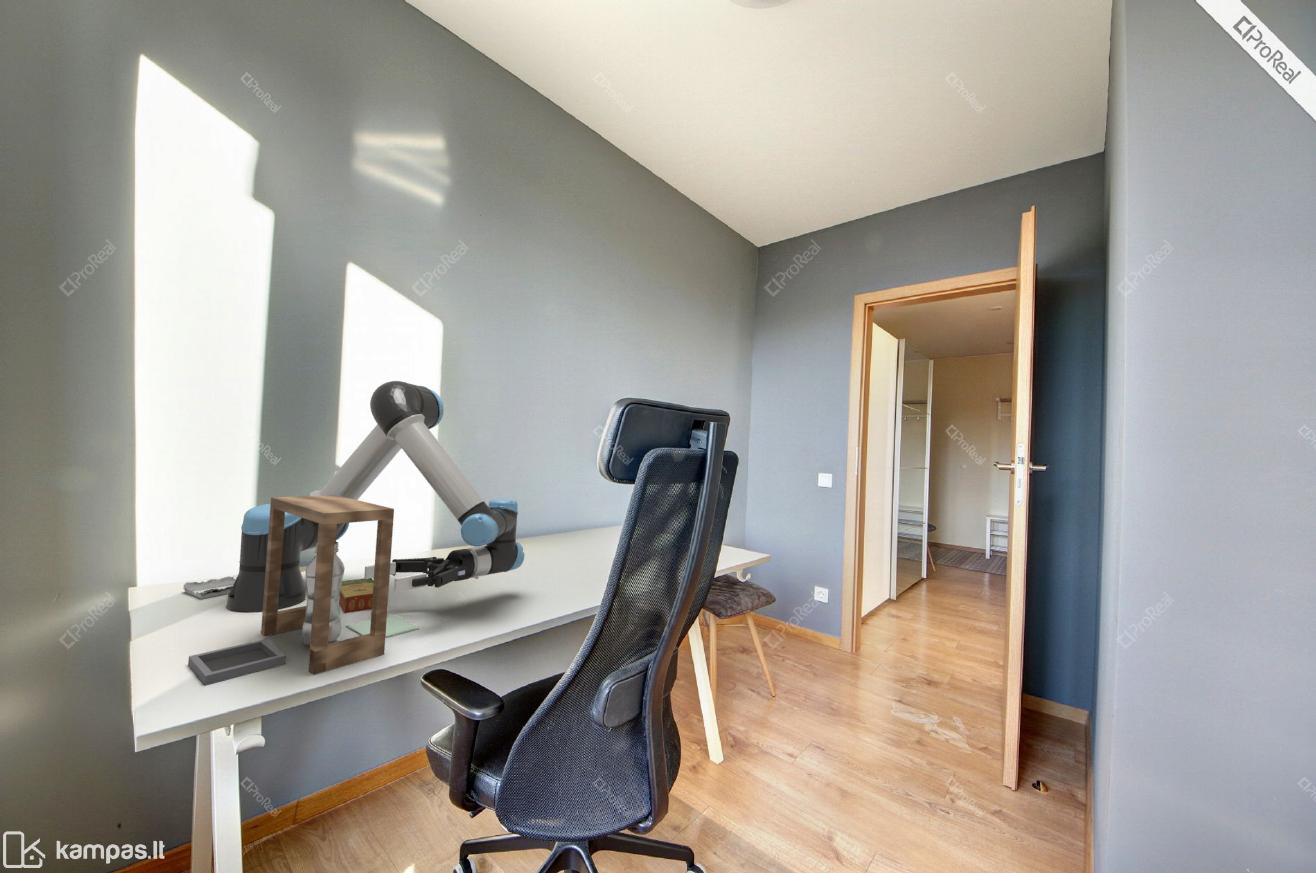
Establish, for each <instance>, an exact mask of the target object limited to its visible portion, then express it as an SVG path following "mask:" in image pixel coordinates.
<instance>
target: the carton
mask: <svg viewBox="0 0 1316 873" xmlns="http://www.w3.org/2000/svg"><path fill="white" fill-rule="evenodd" d="M373 582H374V579H373V578H369V579H364V577H363V578H358V579H357V578H356V579H350V580H349V579H347V580H342V584H341V590H340V595H339V596H340V599H339V608H340V610H341V611H342V612H343V614H348V613H356V612H362V611H370V610H371V611H372V597H373Z"/></svg>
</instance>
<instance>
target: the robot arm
mask: <svg viewBox="0 0 1316 873" xmlns="http://www.w3.org/2000/svg"><path fill="white" fill-rule="evenodd" d="M369 406H370V408H369V409H370V411H371V414H372V416H373V420H374V421H375V422H376V425H375V426H374V427H373V429H372V430H371V431H370V432H369V434H368V435H367V436H366V437H365V438H364V440H362V441H361V443H360V444H359V446H357V448H356V449H355V450H353V452H352V453H351V455H349V457H348V458H347V459H346V460H345V462H344V463H343V464H342V465H341V466H340V468H339V469H337V471H336V472H335V474H334V475H332V477H331V478H330V479H329V480H328V482H327V483H326V484H325V485H324V486H323V488H322V489H319V490H318V489H317V490H312V492H310V493H309V494H308V496H323V495H338V496H342V497H346V498H350V499H355V500H359V499H360V498H361V496H362V495H363V494H364V493H365V492H366V491H367V489H368V488H369V487H370V486H371V485H372V483H373V482H374V481H375V480H376V479H377V478H378V476H380V475H381V473H382V472H383V471H384V470H385V468H387V466H388V465H389V464H390V462H391V461H392V460H393V459H394V458H395V456H396V455H398V453H399V452H400V451H401V449H402V450H403V452H404V453H405V455H406V456H407V457H408V459H409V460H410V461H411V462H412V463H413V465H414V467H416V468H417V470H418V471H419V472H420V474H421V475H422V476H423V478H424V479H425V481H426V482H427V483H428V484H429V485H430V487H431V488H432V489H433V491H434V493H436V494H437V496H438V497H439V499H440V500H441V501H442V502H443V504H444V505H445V506H446V508H447V509H448V510H449V511H450V513H451V514H452V515H453V517H454V518H455V520H456V521H457V522H458V523H459V525H460V535H461V539H462V540H463V541H464V542H465V543H466V544H467V545H469V546H472V547H468V548H460V549H453V550H452V551H450V552H449V553H448V554H447V557H446V558H444V557H443V558H442V557H436V556H433V557H432V556H431V557H420V558H400V559H399V558H398V559H397V558H395V559H391V563H390V576H391V575H392V576H393V577H394V576H396V575H397V573H401V574H402V573H406V574H407V573H418V574H413V575H406V576H401V577H395V578H394V587H393V592H395V593H399V592H403V591H408V590H413V589H419V588H423V587H426V586H427V587H433V586H434V588H436V589H437V588H441V587H443V586H445V585H447V584H450V583H452V582H459V581H466V580H469V579H474V580H478V579H479V578H480V577H483V576H484V577H485V576H488V575H495V574H500V573H508V572H510V571H515V570H516V569H519V568H520V567H521V566H522V565H523V563H524V560H525V552H524V547H523V546H522V544H521V543H520V542H517V526H518V515H519V511H518V509H519V508H518V505H519V504H518V501H517V500H515V499H512V498H492V499H490V500H489V502H488V504H487V503H486V502H485V500H484V498H482V496H481V494H479V492H478V491H477V490H476V488H475V487H474V486H473V484H472V483H471V482H470V481H469V479H468V478H467V477H466V476H465V474H464V473H463V471H462V470H461V469H460V467H459V466H458V465H457V464H456V463H455V461H454V460H453V459H452V457H451V456H450V455H449V453H448V452H447V451H446V450H445V448H444V447H443V446H442V445H441V443H440V442H439V441H438V439H437V438H436V437H435V435H434V434H433V433H432V431H431V429H433V428H434V427H436V426H437V425H439V423H441V421H442V419H443V416H444V412H445V411H444V403H443V400H442V398H441V397H440V396H439V394H438V393H437V392H436V391H434V390H432V389H431V388H428V387H426V386H424V385H417V384H414V383H413V384H412V383H410V382H409V383H408V382H407V381H401V380H392V381H386V382H384V383H381V385H379V386H378V387H377V388H376V389H375V390H374V392H373V393H372V395H371V397H370V402H369ZM270 505H271V503H265V504H261V505H257V506H254V507H251V508H249V509H248V510H246V512H245V513H244V515H243V520H242V524H241V529H240V530H241V536H240V538H241V539H240V550H239V552H240V553H239V554H240V555H239V568H238V574H237V576H236V578H235V579H236V580H235V582H234V584H233V585H231V586H232V589H231V591H230V593H229V594H227V598H226V608H227V609H229V610H230V611H236V612H247V613H249V612H250V613H251V612H263V599H264V585H265V572H266V558H267V545H268V532H269V518H270ZM349 526H350V523H340V524H337V535H336V541H338V540H340V539H341V538H342V537H343V536H344V535H345V534H346V533H347V530H348V528H349ZM318 529H319V523H317V522H314V521H311V520H308V519H305V518H302V517H299V516H296V515H293V514H289V513H286V512H285V519H284V533H283V547H282V560H281V574H280V587H279V601H278V610H279V609H283V608H287V607H291V606H294V605H298V604H300V603H301V602H303V601H305V599H306V598H307V586H306V584H305V581H304V578H303V574H302V572H301V569H300V565H301V564H300V562H301V552H304V551H307V550H311V549H316V544H317V543H318ZM374 568H375V564H371V565H366V566H364V577H363V578H364V579H369V578H372V579H374Z"/></svg>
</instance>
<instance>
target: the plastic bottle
mask: <svg viewBox="0 0 1316 873" xmlns="http://www.w3.org/2000/svg"><path fill="white" fill-rule="evenodd" d="M314 553H315V554H316V555H315V557H313V559H312V560H311V561H309V564H307V566H306V568H305V571H304V572H305V582H306V584H305V585H306V598H307V599H306V606H307V608H306V615H305V621H304V623H303V627H302V628H301V633H300V635H301V641H302V642H303V643H304V645H306V646H309V647H310V641H311V627H312V613H313V599H314V585H315V571H316V557H317V544H316V548H315V551H314ZM337 553H339V541H336V542H335V549H334V563H333V577H332V591H331V605H330V619H329V633H328V644H330V643H334V642H337V640H338V639H339V637H340V636H341V631H342V620H341V617H340V616H341V615H340V614H341V613H340V611H341V608H340V605H339V599H340V596H339V595H340V590H341V584H342V581H344V580H343V579H344V574H345V568H346V567H345V565H344V562H343V561H342V559H341V558H340V557H339V556H338V554H337Z"/></svg>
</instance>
